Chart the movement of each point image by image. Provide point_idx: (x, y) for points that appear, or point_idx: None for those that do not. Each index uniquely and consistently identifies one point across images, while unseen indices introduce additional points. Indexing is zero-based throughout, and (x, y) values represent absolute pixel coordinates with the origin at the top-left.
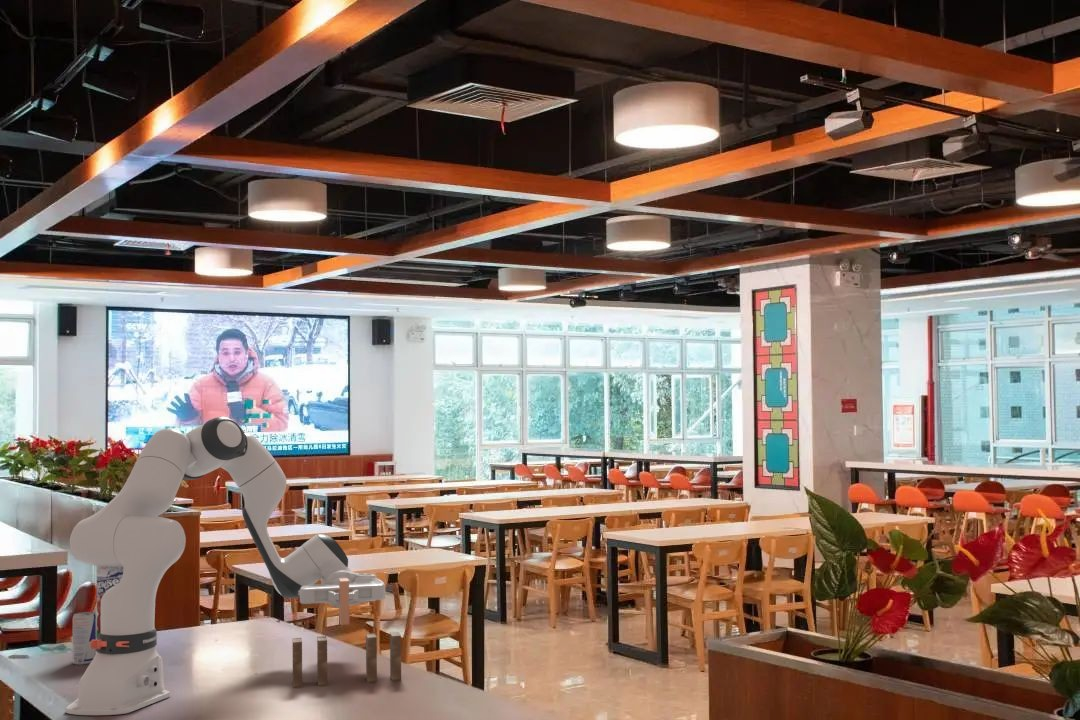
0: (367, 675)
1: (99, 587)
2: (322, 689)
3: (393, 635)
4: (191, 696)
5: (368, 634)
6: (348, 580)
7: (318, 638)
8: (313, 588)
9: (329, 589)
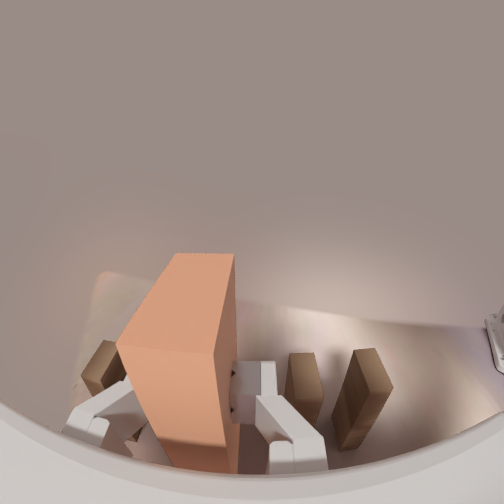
0: None
1: None
2: None
3: (115, 346)
4: (477, 373)
5: None
6: (171, 262)
7: (316, 375)
8: (459, 436)
9: (318, 472)
